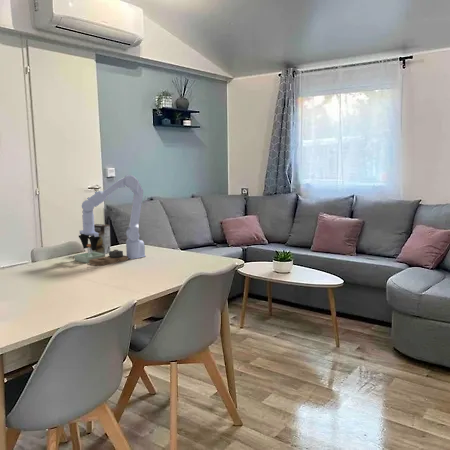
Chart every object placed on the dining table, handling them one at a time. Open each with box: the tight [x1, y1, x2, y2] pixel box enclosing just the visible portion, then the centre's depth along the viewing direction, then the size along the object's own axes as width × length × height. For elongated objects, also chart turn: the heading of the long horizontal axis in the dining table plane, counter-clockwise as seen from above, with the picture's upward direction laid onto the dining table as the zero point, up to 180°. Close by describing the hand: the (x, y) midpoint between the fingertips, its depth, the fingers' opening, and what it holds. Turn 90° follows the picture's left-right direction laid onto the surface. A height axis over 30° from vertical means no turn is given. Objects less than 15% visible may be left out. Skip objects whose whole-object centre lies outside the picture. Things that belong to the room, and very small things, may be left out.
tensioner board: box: [88, 249, 129, 267], centre depth 242 cm, size 18×8×6 cm, turn 139°
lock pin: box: [87, 243, 93, 257], centre depth 245 cm, size 3×3×8 cm
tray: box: [74, 252, 106, 264], centre depth 246 cm, size 11×11×3 cm
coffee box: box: [90, 223, 111, 255], centre depth 264 cm, size 9×6×16 cm
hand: (89, 249), depth 245 cm, fingers open, 7 cm apart
